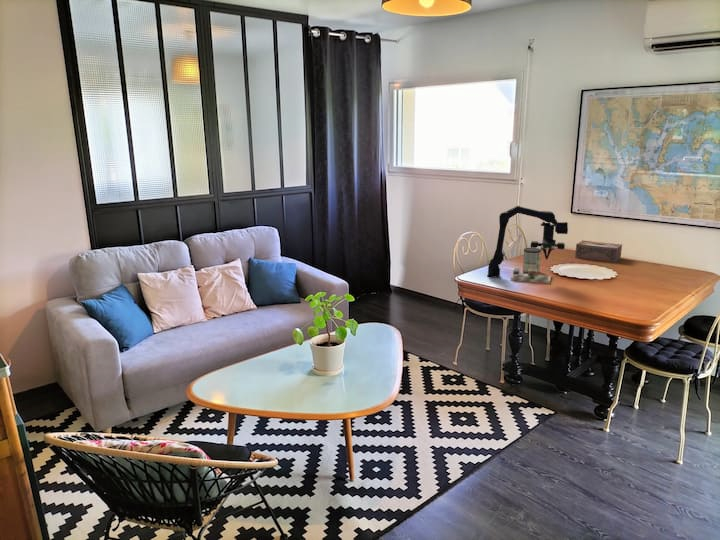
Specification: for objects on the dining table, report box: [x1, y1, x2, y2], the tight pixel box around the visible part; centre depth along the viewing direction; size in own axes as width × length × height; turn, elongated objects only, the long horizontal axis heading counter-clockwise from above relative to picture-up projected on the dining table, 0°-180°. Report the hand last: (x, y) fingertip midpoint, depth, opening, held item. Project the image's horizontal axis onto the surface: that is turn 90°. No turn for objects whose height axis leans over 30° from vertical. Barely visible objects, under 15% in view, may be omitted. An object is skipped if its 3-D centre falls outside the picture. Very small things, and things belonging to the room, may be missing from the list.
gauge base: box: [510, 267, 552, 284], centre depth 308 cm, size 22×12×5 cm, turn 69°
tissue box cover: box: [574, 239, 623, 263], centre depth 354 cm, size 26×14×10 cm, turn 51°
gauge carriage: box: [522, 268, 539, 279], centre depth 307 cm, size 8×10×4 cm
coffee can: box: [522, 247, 542, 274], centre depth 324 cm, size 10×10×14 cm
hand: (546, 259), depth 305 cm, fingers closed
